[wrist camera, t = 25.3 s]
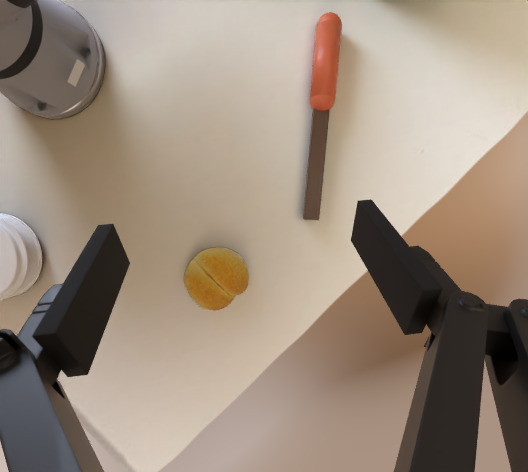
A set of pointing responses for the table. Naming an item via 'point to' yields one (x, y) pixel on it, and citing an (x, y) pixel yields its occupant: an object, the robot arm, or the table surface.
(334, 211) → the table surface
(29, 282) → the lid
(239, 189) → the table surface
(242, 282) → the bread roll
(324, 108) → the brown orange rod
